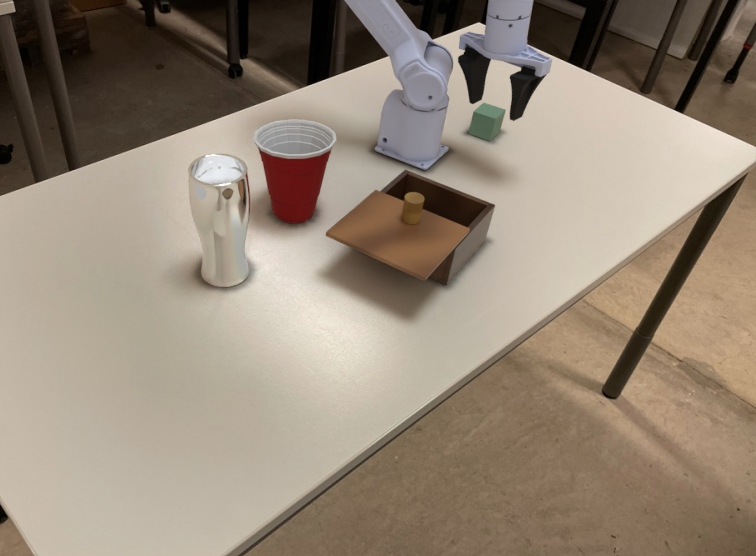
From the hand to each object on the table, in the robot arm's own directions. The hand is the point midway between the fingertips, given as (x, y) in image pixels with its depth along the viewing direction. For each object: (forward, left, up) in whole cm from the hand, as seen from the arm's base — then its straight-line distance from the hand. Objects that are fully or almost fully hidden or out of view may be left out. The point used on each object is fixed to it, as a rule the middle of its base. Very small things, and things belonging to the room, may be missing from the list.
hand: (495, 109), depth 98 cm
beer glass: (-15, -45, -9) cm, 48 cm away
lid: (+2, -32, -3) cm, 32 cm away
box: (+2, -24, -9) cm, 26 cm away
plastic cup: (-16, -29, -9) cm, 34 cm away
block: (-4, +9, -9) cm, 13 cm away
